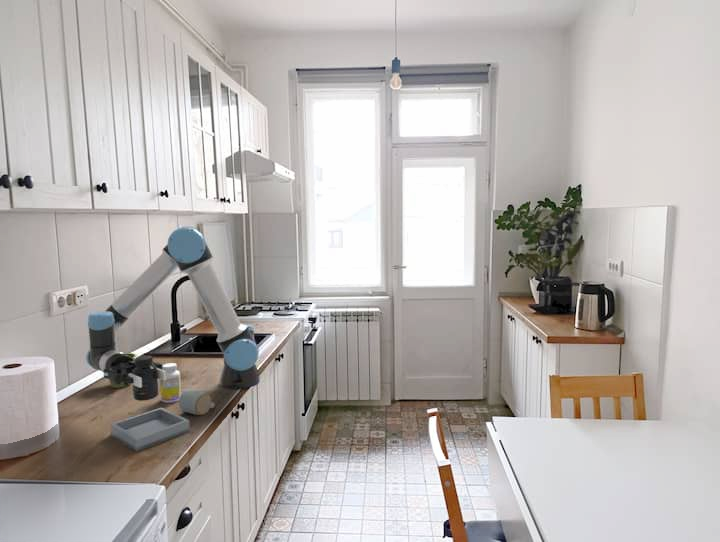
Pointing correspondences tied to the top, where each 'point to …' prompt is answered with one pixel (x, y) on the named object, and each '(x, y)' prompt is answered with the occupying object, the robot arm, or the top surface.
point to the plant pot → (122, 382)
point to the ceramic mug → (195, 402)
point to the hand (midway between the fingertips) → (152, 379)
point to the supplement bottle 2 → (170, 384)
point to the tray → (149, 428)
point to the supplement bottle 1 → (145, 378)
